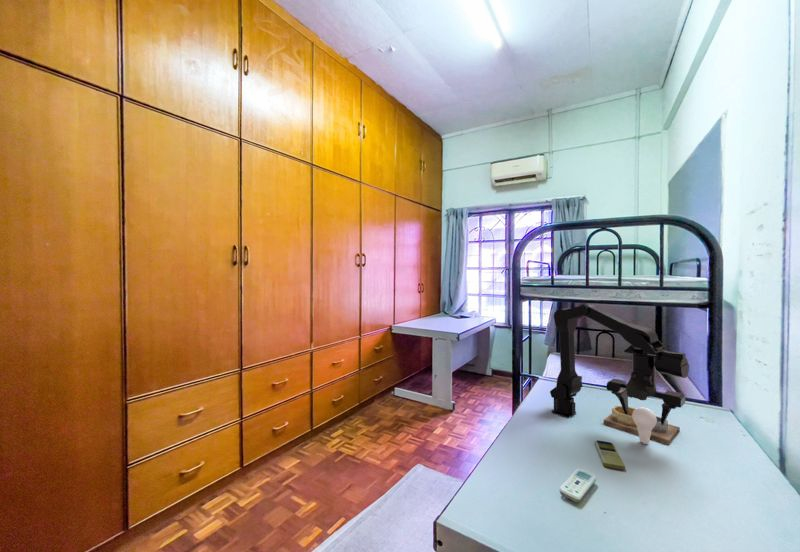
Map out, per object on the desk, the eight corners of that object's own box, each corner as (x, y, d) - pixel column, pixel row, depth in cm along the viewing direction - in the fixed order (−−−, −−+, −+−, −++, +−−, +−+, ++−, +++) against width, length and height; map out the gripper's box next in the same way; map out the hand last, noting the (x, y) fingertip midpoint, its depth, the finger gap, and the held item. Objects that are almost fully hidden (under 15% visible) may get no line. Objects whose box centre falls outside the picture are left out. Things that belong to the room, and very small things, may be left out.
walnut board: (603, 424, 113) (603, 419, 113) (617, 413, 121) (617, 409, 121) (668, 445, 99) (668, 440, 99) (679, 431, 107) (679, 427, 107)
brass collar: (609, 419, 113) (609, 410, 113) (618, 412, 119) (618, 404, 119) (639, 428, 106) (639, 419, 106) (648, 420, 112) (647, 412, 112)
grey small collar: (644, 427, 107) (644, 418, 107) (649, 423, 110) (649, 414, 110) (664, 433, 102) (664, 424, 102) (669, 428, 106) (669, 419, 106)
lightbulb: (653, 440, 101) (653, 405, 101) (659, 450, 96) (659, 413, 96) (630, 436, 104) (629, 402, 104) (634, 446, 98) (634, 410, 98)
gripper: (599, 367, 102) (600, 416, 102) (675, 382, 87) (676, 439, 88) (612, 361, 109) (613, 407, 109) (685, 374, 94) (685, 427, 94)
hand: (643, 419), depth 100 cm, fingers open, 9 cm apart
